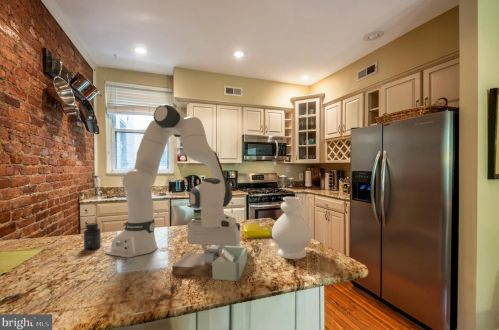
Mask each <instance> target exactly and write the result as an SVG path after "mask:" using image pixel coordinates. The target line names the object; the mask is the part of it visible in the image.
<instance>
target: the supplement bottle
mask: <svg viewBox="0 0 499 330" xmlns="http://www.w3.org/2000/svg"><path fill="white" fill-rule="evenodd" d="M85 228H86V229H85V230H84V232H83V250H84V251H86V250H90V251H95V250H98V249H100V248H101V247H102V243H101V241H102V240H101V239H102V237H101V236H102V235H101V229H100V228H99V223H98V222H91V223H86V224H85Z"/></svg>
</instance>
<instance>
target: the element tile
mask: <svg viewBox="0 0 499 330" xmlns="http://www.w3.org/2000/svg"><path fill="white" fill-rule="evenodd" d="M242 231H243V237H244V238H246V239H255V238H257V239H258V238H271V237H272V229H271V227H270V225H269V224H268V223H266V222H265V223H264V222H261V223H244V224H242Z"/></svg>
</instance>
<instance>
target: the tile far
mask: <svg viewBox="0 0 499 330" xmlns="http://www.w3.org/2000/svg"><path fill="white" fill-rule="evenodd" d="M221 257H222V258H223V259H224V260H225V261H226V262H232V261H233V259H234V258H235V256H234V255H232V254H231V253H230V252H228V251H227V250H226V249H225V250H224V251H222V256H221Z"/></svg>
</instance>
